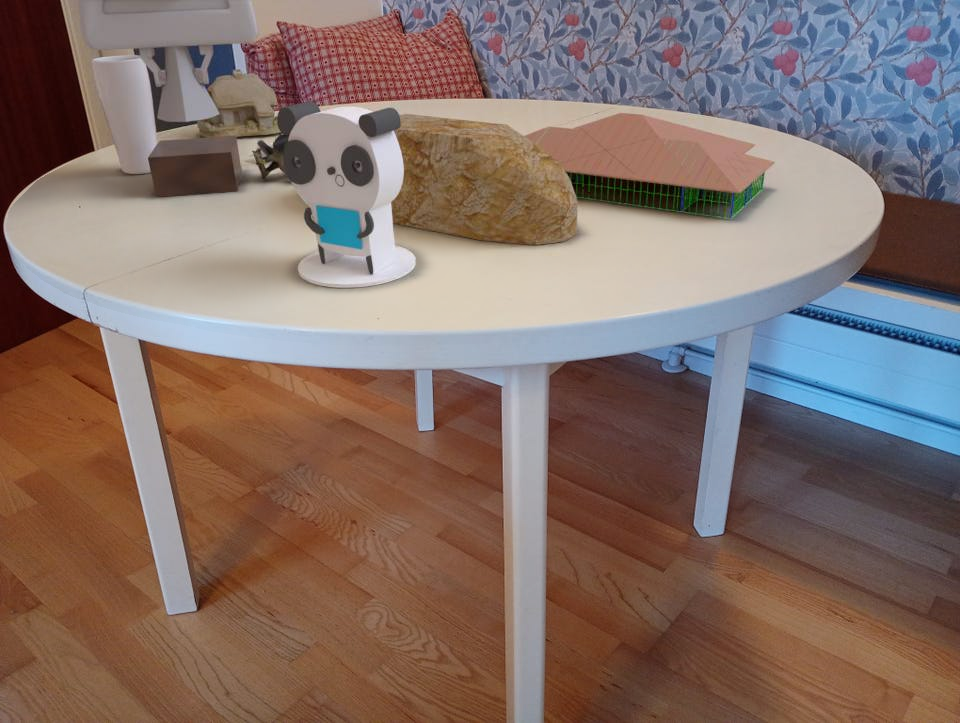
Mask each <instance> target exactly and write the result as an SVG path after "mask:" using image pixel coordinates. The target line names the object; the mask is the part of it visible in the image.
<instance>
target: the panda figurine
mask: <svg viewBox="0 0 960 723" xmlns="http://www.w3.org/2000/svg"><path fill="white" fill-rule="evenodd" d="M399 115H400V113H399V112H398V110H397V109H395V108H393V107H385V108H382V109H379V110H374V111H373V110H370V109H368V108H364V107H360V106H351V105H346V106H338V107H334V108H330V109H327V110H321V109H320V107H319V106H318V104H317V103H316V102H315V101H313V100H309V101H305V102H301V103H297V104H292V105H288V106H284V107H282V108H280V109H279V111H278V112H277V115H276V116H277V125H278V128H279V130H280V131H281V132H280V133H281V135H283V134H284V135H289V139H288V142H286V144H285V147H284V154H283V163H284V170H285V173H284V175H285V174H286V175H285V176H286V178H287V179H288V180H289V182H290V181H291V182H292V183H291V185H292V187H293V188H294V190H295V192H296V194H297V195H298V196H299V197H300V199H301V200H302V201H303V202H304V203H305V204H306V205H307V206H308V207H306V208H305V209H304V213H303V219H304V222H305V224H306V226H307V227H308V228H309V229H310V230H311V231H312V233H315V237H316V243H317V249H318V250H317V251H315V252H312V253H310V254H309V255H307V256H306V257H303V259H301V260H300V261H299V263H298V265H297V272H298V275H299V276H300V277H301V279H303V280H304V281H306V282H308V283H310V284H313V285H317V286H321V287H326V288H337V289H354V288H355V289H356V288H366V287H372V286H378V285H382V284H387V283H390V282H393V281H396V280H398V279H400V278H403V277H404V276H406V275H408V274H410V273H411V272H412V270H414V269H415V267H416V263H417V260H416V256H415V255H414V254H413V252H412V251H410V250H409V249H407V248H404V247H401V246H398V245H396V243H395V234H394V223H393V220H392V207H391V202H392V201H393V200H394V199H395V198H396V197H397V195H398V193H399V192H400V189H401V186H402V183H403V177H404V165H403V158H402V154H401V150H400V146H399V143H398V140H397V138H396V135H395V133H394V131H393V130H397V129H399V128H400V126H401V121H400V116H399Z"/></svg>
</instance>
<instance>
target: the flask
mask: <svg viewBox="0 0 960 723" xmlns="http://www.w3.org/2000/svg"><path fill="white" fill-rule="evenodd" d="M163 49H164V56H165V57H164V60H165V61H164V65H165V66H164V70H165V71H166V76H167V78H166V85H165V86H163V87H162V88H161V95H160V100H159V105H158V109H157V110H158V112H157V117H156V118H157V119H158V120H161V121H164V122H168V123H189V122H197V120H204V119H208V118H211V117H214V116H216V115H219V114H220V113H219V111H218V109H217V108H216V106H215V104H214V102H213V100H212V99H211V97H210V95H209V93H208V92H207V89H206V87H205V84H199V83H198V82H197V80H196V77H195V76H194V70H195V68H196V67H195V65H194V62H193V59H192V57H191V54H190V51H189V50H190V49H189V46H176V47H163Z"/></svg>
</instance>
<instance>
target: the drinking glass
mask: <svg viewBox="0 0 960 723" xmlns="http://www.w3.org/2000/svg"><path fill="white" fill-rule="evenodd" d="M91 67H92V73H93V79H94V82H95V87H96V91H97V95H98V98H99V100H100V103H101V107H102V110H103V113H104V117H105V119H106V123H107V126H108V128H109V132H110V135H111V138H112V141H113V144H114V148H115V151H116V154H117V157H118V162H119V165H120V169H121V171H122V172H123V173H125V174H128V175H144V174H151V171H150V166H149V161H148V157H149V155H150V154H151V152H152V151H153V149H154V148H155V147H156V145H157V144H158V142H159V141H158V135H157V126H156V119H155V110H154V100H153V92H152V86H151V80H150V75H149V70H148V67H147V65H146V64H145V63H144V62H143V60H142V59H141V57H140V54H125V55H124V54H123V55H111V56H110V55H109V56H102V57H96V58H92V59H91Z"/></svg>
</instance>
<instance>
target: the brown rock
mask: <svg viewBox="0 0 960 723" xmlns="http://www.w3.org/2000/svg"><path fill="white" fill-rule="evenodd" d="M399 116H400V121H401V126H400V128H399V129H397V130H393V131H394V133H395V135H396V138H397V140H398V143H399V146H400V150H401V154H402V158H403V165H404V177H403V183H402V186H401V189H400V192H399V193H398V195H397V197H396V198H395V199H394V200H393V201H392V202H391V207H392V220H393V224H396V225H401V226H406V227H411V228H416V229H420V230H421V229H422V230H427V231H430V232H436V233H442V234H447V235H452V236H456V237H462V238H467V239H471V240H478V241H483V242H485V241H486V242H496V243H506V244H507V243H508V244H519V245H530V246H531V245H532V246H539V245H546V244H547V245H548V244H555V243H565V242H566V241H568V240H570V239H571V238H573V237H575V236H576V235H577V234H578V207H579V206H578V205H579V201H578V197H576V191H575V189H574V186H573V183H571V182H572V180H571V181H570V175H568V173H567V174H566V172H565V171H564V170H563V168H562V167H561V166H560V165H559V163H558V162H557V161H556V159H554V158H553V157H551V156H550V155H549V154H547V153H546V152H545V151H543V150H542V149H541V148H539V147H538V146H537V145H535V144H534V143H533V142H531V141H530V140H529V139H527V138H526V137H524V136H525V135H523V134H522V133H520V132H519V131H518V130H516V129H514V128H513V127H511V126H509V125H508V124H505V123H504V124H503V123H495V122H485V121H477V120H467V119H459V118H458V119H457V118H450V117H449V118H448V117H440V116H439V117H438V116H432V115H431V116H430V115H420V114H413V113H401V114H399Z"/></svg>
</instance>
